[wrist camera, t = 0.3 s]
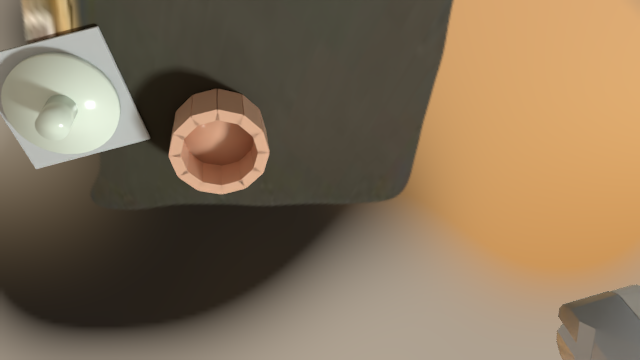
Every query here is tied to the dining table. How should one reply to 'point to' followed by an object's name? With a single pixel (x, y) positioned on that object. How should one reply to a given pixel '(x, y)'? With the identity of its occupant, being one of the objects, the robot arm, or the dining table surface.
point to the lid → (61, 103)
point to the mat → (97, 52)
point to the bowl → (218, 142)
